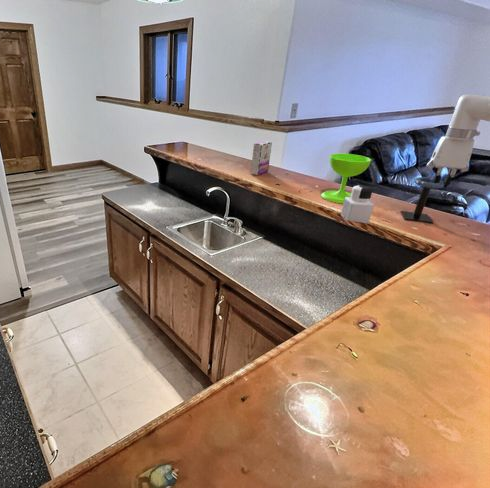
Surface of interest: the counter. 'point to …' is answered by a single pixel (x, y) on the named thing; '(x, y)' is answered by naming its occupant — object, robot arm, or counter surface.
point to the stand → (419, 209)
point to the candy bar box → (261, 157)
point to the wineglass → (345, 173)
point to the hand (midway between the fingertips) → (439, 185)
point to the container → (358, 205)
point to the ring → (428, 182)
